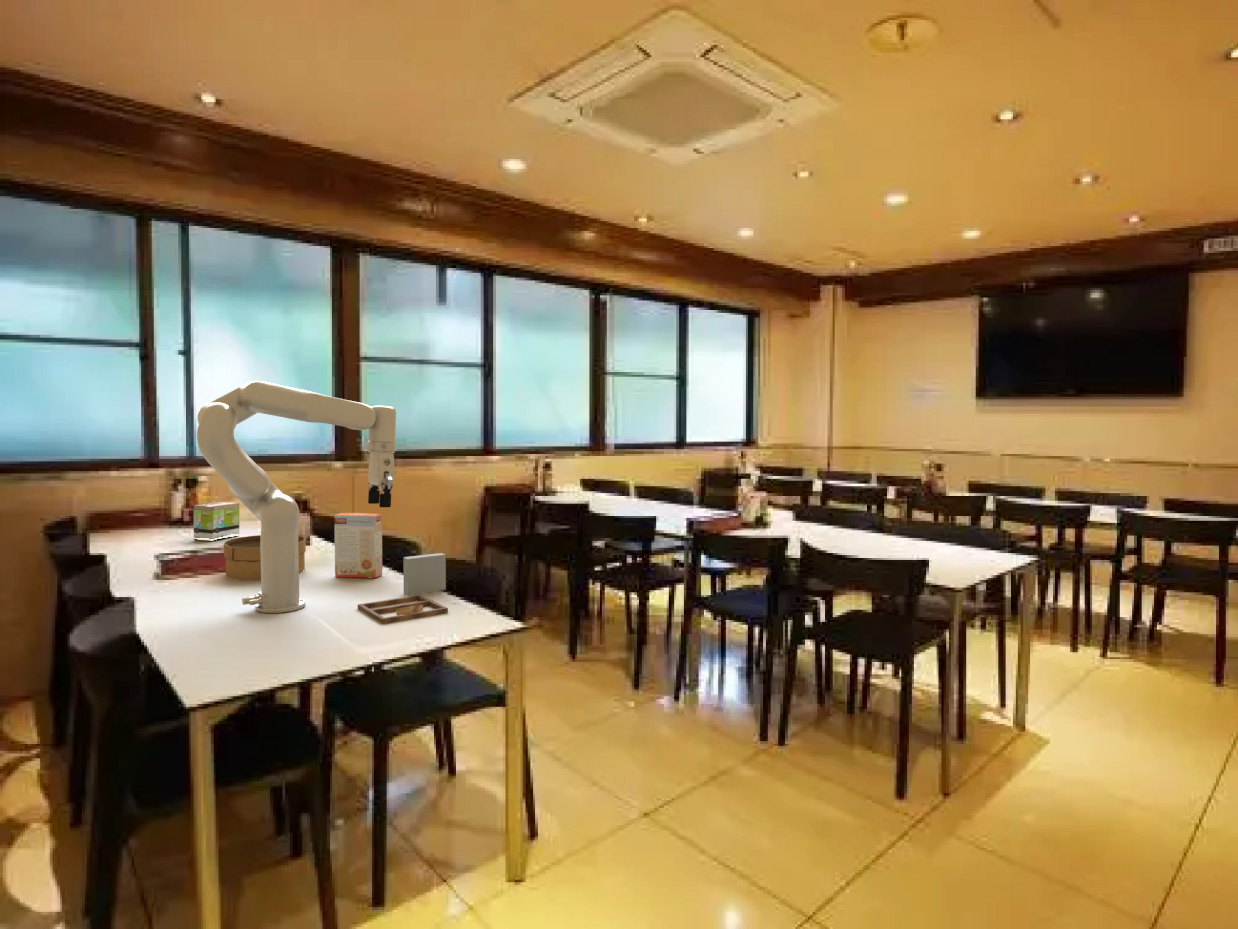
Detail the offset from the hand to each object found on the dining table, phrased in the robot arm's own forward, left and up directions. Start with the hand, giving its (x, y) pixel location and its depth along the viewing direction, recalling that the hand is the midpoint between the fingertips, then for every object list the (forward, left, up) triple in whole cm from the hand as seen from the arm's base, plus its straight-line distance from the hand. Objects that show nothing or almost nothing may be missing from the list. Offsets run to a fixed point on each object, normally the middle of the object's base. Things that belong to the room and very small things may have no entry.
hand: (379, 505), depth 218 cm
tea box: (-19, +131, -27) cm, 135 cm away
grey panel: (+11, -8, -27) cm, 30 cm away
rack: (-3, -25, -27) cm, 37 cm away
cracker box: (+4, +28, -27) cm, 39 cm away
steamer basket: (-19, +51, -27) cm, 61 cm away
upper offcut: (-3, -29, -26) cm, 39 cm away
